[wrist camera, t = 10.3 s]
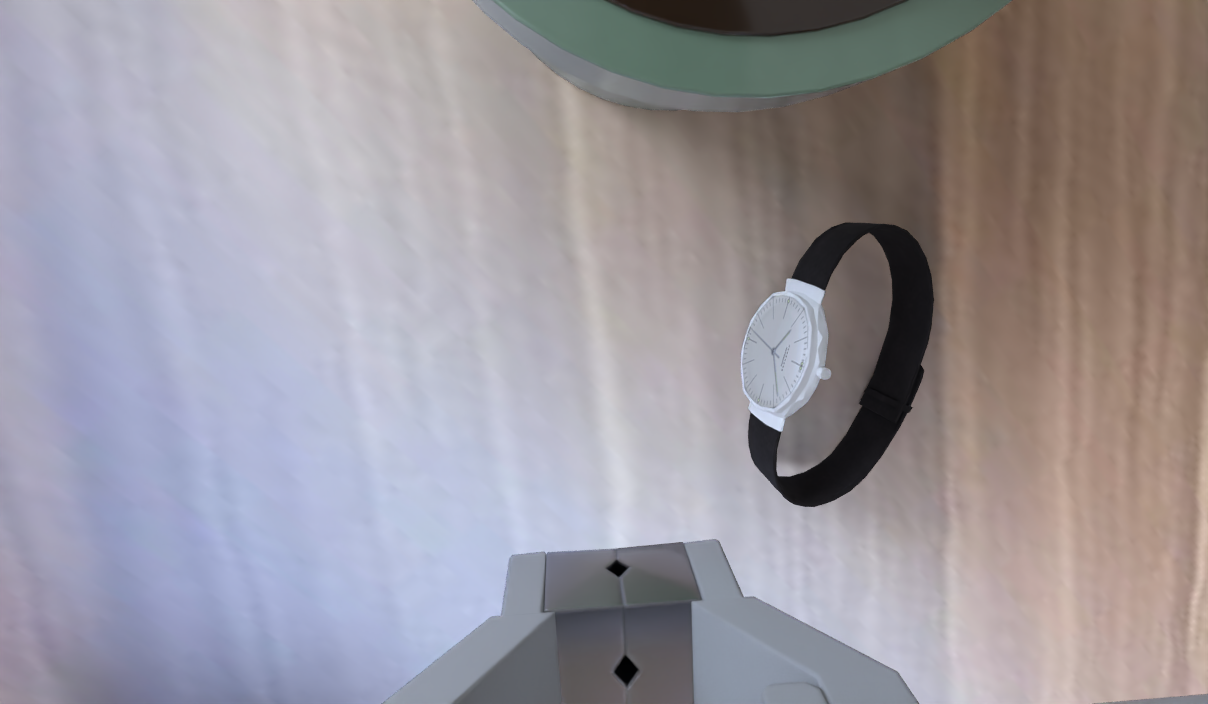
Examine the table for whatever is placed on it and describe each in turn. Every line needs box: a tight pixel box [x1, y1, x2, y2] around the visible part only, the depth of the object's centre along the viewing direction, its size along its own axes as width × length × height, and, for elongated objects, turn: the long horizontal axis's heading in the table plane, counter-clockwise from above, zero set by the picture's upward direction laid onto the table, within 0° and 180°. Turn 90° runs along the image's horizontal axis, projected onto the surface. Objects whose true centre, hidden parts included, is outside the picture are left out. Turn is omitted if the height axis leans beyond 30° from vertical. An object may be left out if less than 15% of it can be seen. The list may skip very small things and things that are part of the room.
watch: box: [741, 223, 934, 507], centre depth 19 cm, size 8×5×4 cm, turn 166°
